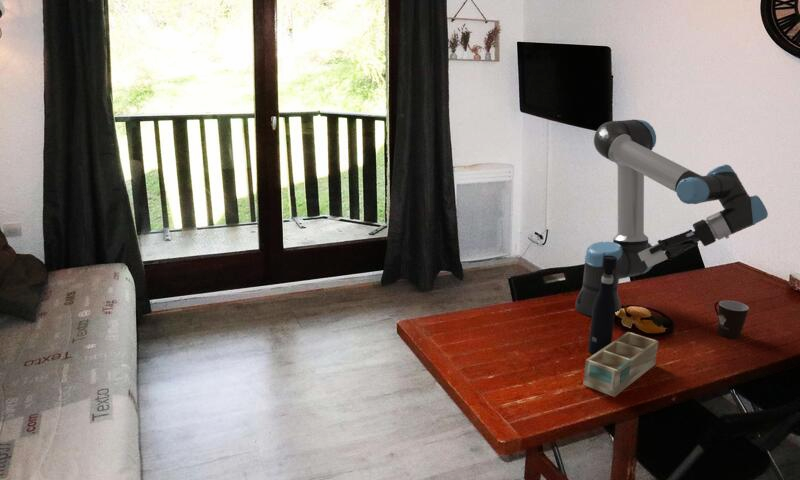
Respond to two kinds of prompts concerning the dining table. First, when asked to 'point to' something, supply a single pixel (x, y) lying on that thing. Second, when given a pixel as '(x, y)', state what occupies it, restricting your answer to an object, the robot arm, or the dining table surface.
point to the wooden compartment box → (620, 363)
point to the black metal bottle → (603, 309)
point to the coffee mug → (731, 318)
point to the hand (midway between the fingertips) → (642, 260)
